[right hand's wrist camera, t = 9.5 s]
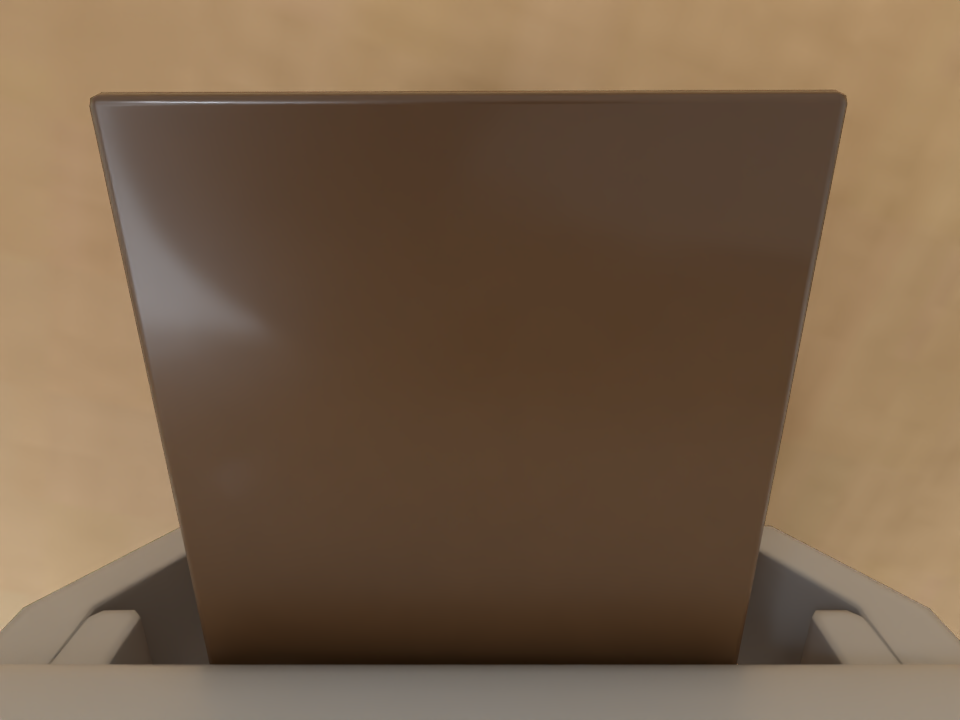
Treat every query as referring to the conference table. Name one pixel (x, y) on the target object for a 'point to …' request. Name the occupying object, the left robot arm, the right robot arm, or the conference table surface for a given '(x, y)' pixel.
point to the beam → (470, 360)
